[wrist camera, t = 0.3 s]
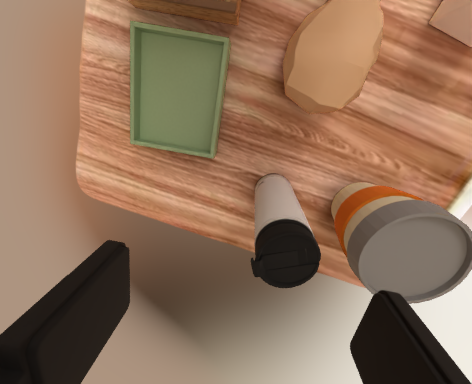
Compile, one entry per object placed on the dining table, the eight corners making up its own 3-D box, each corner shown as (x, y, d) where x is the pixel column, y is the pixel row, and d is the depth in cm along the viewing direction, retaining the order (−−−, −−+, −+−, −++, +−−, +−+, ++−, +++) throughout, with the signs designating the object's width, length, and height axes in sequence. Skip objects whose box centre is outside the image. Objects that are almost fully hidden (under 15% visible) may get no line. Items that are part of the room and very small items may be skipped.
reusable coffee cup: (411, 211, 39) (500, 270, 25) (345, 250, 42) (390, 321, 28) (372, 155, 36) (447, 185, 22) (305, 201, 40) (333, 253, 25)
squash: (269, 105, 35) (264, 90, 26) (324, -44, 30) (341, -124, 22) (338, 129, 34) (357, 121, 25) (407, -24, 29) (460, -99, 20)
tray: (140, 27, 32) (130, 20, 30) (231, 43, 32) (229, 37, 30) (138, 141, 38) (130, 143, 35) (216, 155, 38) (213, 158, 35)
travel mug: (249, 176, 39) (245, 241, 20) (288, 170, 38) (322, 231, 19) (256, 210, 41) (257, 296, 22) (293, 204, 40) (327, 289, 21)
